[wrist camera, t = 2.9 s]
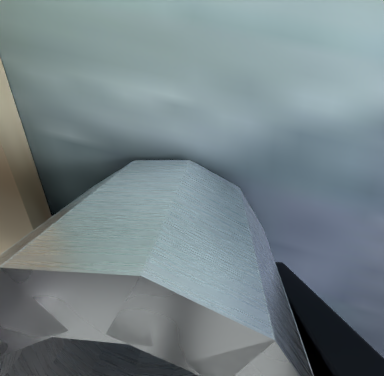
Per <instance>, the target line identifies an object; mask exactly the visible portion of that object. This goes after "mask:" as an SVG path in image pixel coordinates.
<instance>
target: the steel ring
mask: <svg viewBox="0 0 384 376" xmlns="http://www.w3.org/2000/svg"><path fill="white" fill-rule="evenodd" d="M0 376H314V375H313V372H312V369H311V366H310V363H309V361H308V358H307V355H306V352H305V349H304V346H303V343H302V340H301V337H300V334H299V331H298V328H297V325H296V322H295V319H294V316H293V313H292V310H291V308H290V305H289V302H288V299H287V296H286V293H285V290H284V287H283V284H282V281H281V278H280V275H279V272H278V269H277V266H276V263H275V260H274V258H273V255H272V252H271V249H270V246H269V243H268V240H267V237H266V234H265V231H264V229H263V227H262V225H261V224H260V222H259V220H258V218H257V217H256V215H255V213H254V212H253V210H252V208H251V206H250V205H249V203H248V201H247V199H246V198H245V196H244V194H243V192H242V191H241V189H240V187H238V186H236V185H235V184H233V183H231V182H229V181H227V180H226V179H224V178H222V177H220V176H218V175H216V174H215V173H213V172H211V171H209V170H207V169H206V168H204V167H202V166H200V165H198V164H196V163H195V162H193V161H191V160H134V161H132V162H131V163H129V164H128V165H126V166H125V167H123V168H121V169H120V170H118V171H117V172H115V173H114V174H112V175H110V176H109V177H107V178H106V179H104V180H102V181H101V182H99V183H98V184H96V185H94V186H93V187H92V188H90V189H89V190H88V191H86V192H85V193H83V194H82V195H81V196H79V197H78V198H77V199H75V200H74V201H73V202H71V203H70V204H69V205H67V206H66V207H65V208H63V209H62V210H60V211H59V212H58V213H56V214H55V215H54V216H52V217H51V218H50V219H48V220H47V221H46V222H44V223H43V224H41V225H40V226H39V227H37V228H36V229H35V230H33V231H32V232H31V233H29V234H28V235H27V236H25V237H24V238H22V239H21V240H20V241H18V242H17V243H16V244H14V245H13V246H12V247H10V248H9V249H8V250H6V251H5V252H3V253H2V254H1V255H0Z"/></svg>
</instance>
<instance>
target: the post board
mask: <svg viewBox="0 0 384 376" xmlns="http://www.w3.org/2000/svg"><path fill="white" fill-rule="evenodd" d="M51 217H52V216H51V213H50V210H49V207H48V204H47V200H46V197H45V194H44V191H43V188H42V185H41V182H40V179H39V176H38V173H37V170H36V166H35V163H34V160H33V157H32V154H31V151H30V148H29V145H28V142H27V139H26V135H25V132H24V129H23V126H22V123H21V120H20V117H19V114H18V111H17V108H16V105H15V101H14V98H13V95H12V92H11V89H10V86H9V83H8V80H7V77H6V74H5V71H4V67H3V64H2V61H1V58H0V255H1V254H2V253H3V252H5V251H6V250H8V249H9V248H10V247H12V246H13V245H14V244H16V243H17V242H18V241H20V240H21V239H22V238H24V237H25V236H27V235H28V234H29V233H31V232H32V231H33V230H35V229H36V228H37V227H39V226H40V225H41V224H43V223H44V222H46V221H47V220H48V219H50V218H51Z"/></svg>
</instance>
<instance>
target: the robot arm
mask: <svg viewBox="0 0 384 376" xmlns="http://www.w3.org/2000/svg"><path fill="white" fill-rule="evenodd" d="M275 263H276V266H277V269H278V272H279V275H280V278H281V281H282V284H283V287H284V290H285V293H286V296H287V299H288V302H289V305H290V308H291V310H292V313H293V316H294V319H295V322H296V325H297V328H298V331H299V334H300V337H301V340H302V343H303V346H304V349H305V352H306V355H307V358H308V361H309V363H310V366H311V369H312V372H313V375H314V376H384V358H383V357H382V356H381V355H380V354H379V353H378V352H376V351H375V350H374V349H373V348H372V347H371V346H370V345H369V344H368V343H367V342H366V341H365V340H364V339H363V338H362V337H361V336H360V335H359V334H357V333H356V332H355V331H354V330H353V329H352V328H351V327H350V326H349V325H348V324H347V323H346V322H345V321H344V320H343V319H342V318H341V317H340V316H338V315H337V314H336V313H335V312H334V311H333V310H332V309H331V308H330V307H329V306H328V305H327V304H326V303H325V302H324V301H323V300H322V299H321V298H319V297H318V296H317V295H316V294H315V293H314V292H313V291H312V290H311V289H310V288H309V287H308V286H307V285H306V284H305V283H304V282H303V281H302V280H300V279H299V278H298V277H297V276H296V275H295V274H294V273H293V272H292V271H291V270H290V269H289V268H288V267H287V266H286V265H285V264H283V263H281V262H275Z"/></svg>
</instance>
